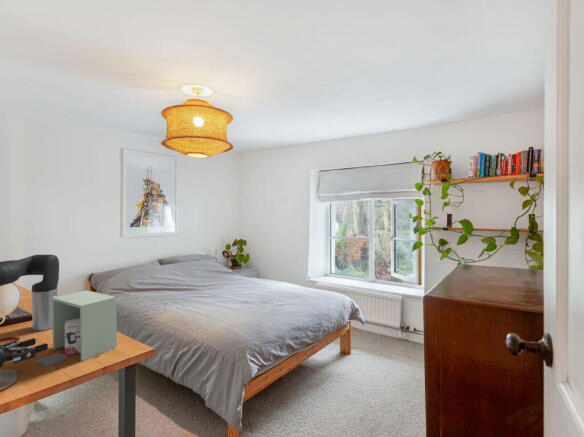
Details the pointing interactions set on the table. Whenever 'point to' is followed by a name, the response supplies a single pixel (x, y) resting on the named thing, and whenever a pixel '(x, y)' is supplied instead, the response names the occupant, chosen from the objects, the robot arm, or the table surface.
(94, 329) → the cubby
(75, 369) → the table surface
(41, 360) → the coaster
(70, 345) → the ink box
